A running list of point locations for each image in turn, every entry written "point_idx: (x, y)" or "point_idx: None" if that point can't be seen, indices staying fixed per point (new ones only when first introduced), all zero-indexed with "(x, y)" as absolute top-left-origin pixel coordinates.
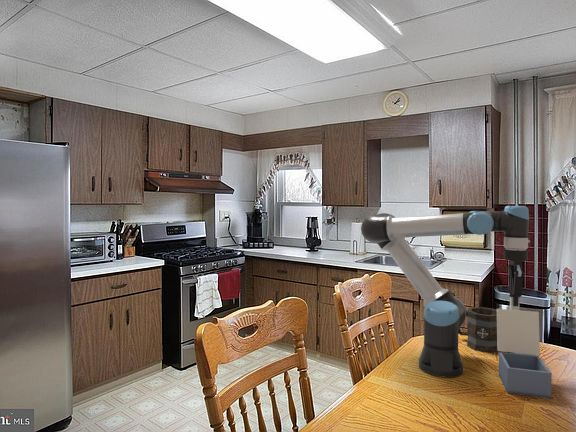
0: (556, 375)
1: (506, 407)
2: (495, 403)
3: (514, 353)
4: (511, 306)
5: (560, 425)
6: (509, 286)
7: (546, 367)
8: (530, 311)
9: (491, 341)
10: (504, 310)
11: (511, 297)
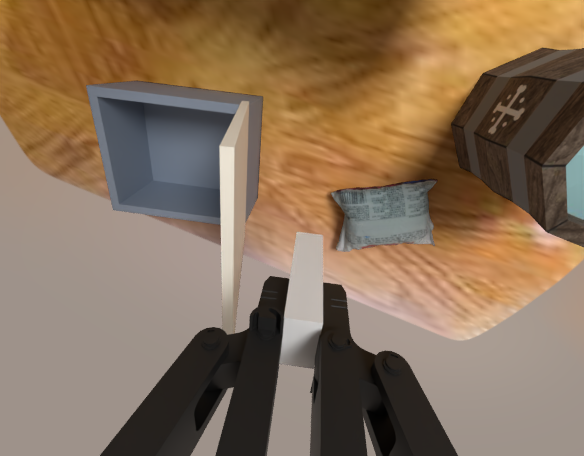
0: (293, 248)
1: (45, 48)
2: (52, 20)
3: (377, 191)
4: (292, 266)
5: (29, 151)
6: (397, 417)
7: (152, 213)
8: (222, 323)
9: (474, 142)
10: (222, 194)
11: (285, 315)
